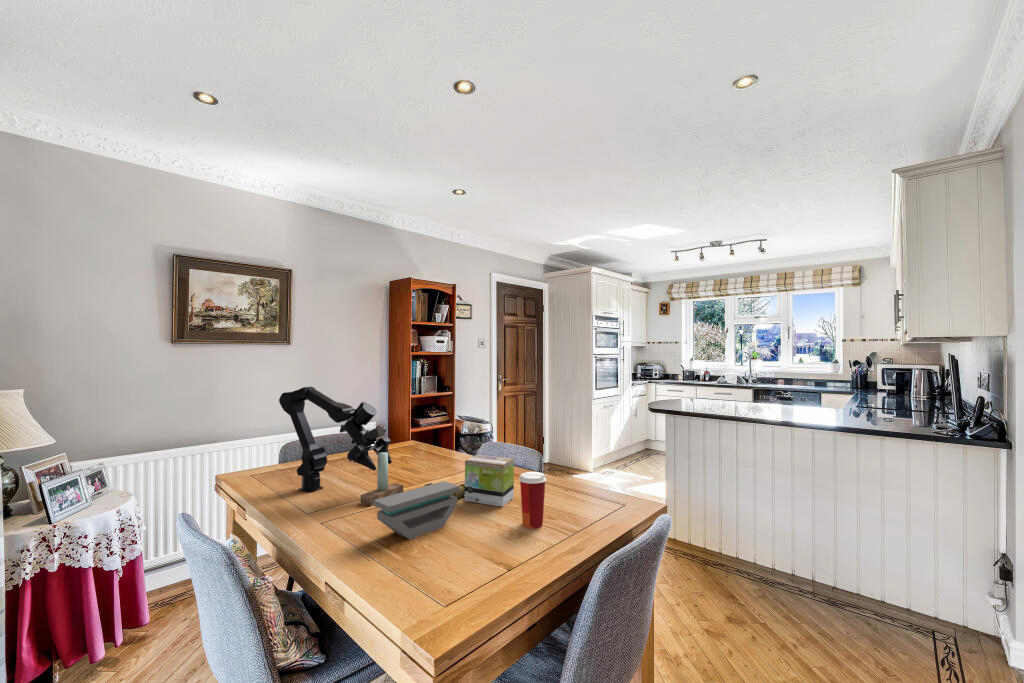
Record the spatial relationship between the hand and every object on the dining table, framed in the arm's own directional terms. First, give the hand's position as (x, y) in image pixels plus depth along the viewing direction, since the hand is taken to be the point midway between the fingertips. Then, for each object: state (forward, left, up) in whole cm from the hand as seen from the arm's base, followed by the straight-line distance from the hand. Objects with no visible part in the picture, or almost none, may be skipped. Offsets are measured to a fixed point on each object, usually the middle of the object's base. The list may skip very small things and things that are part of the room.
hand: (383, 466), depth 159 cm
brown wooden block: (0, 0, -11) cm, 11 cm away
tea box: (+35, +16, -12) cm, 40 cm away
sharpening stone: (+30, -16, -12) cm, 36 cm away
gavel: (+15, +15, -12) cm, 24 cm away
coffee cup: (+58, +3, -12) cm, 59 cm away
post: (0, 0, -8) cm, 8 cm away
